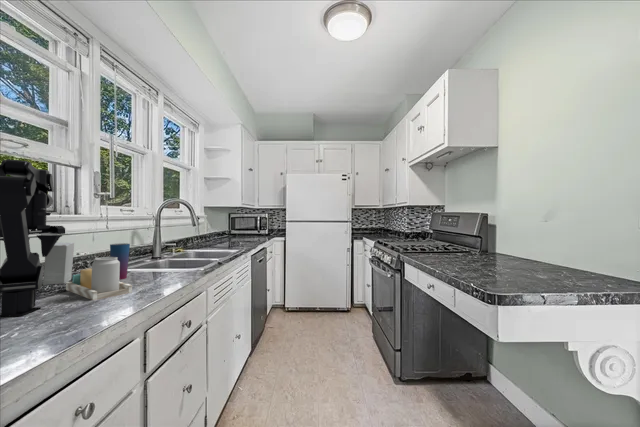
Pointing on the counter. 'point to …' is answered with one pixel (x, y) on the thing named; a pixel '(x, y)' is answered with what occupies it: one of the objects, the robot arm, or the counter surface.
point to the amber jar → (86, 277)
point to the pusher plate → (76, 279)
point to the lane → (93, 294)
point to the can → (105, 274)
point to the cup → (121, 257)
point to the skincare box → (58, 264)
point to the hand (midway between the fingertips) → (32, 258)
